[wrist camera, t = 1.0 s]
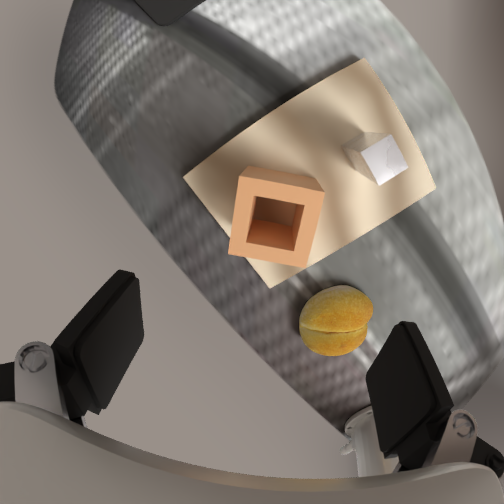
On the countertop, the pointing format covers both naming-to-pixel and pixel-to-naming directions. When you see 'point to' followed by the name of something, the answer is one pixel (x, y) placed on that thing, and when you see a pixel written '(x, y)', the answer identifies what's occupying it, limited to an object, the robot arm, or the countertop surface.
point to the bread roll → (335, 320)
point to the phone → (167, 9)
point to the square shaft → (375, 156)
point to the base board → (318, 163)
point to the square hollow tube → (268, 233)
